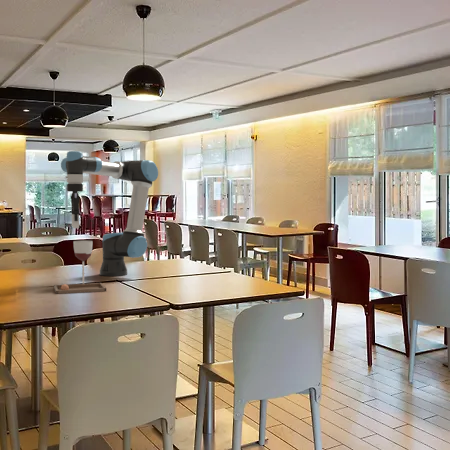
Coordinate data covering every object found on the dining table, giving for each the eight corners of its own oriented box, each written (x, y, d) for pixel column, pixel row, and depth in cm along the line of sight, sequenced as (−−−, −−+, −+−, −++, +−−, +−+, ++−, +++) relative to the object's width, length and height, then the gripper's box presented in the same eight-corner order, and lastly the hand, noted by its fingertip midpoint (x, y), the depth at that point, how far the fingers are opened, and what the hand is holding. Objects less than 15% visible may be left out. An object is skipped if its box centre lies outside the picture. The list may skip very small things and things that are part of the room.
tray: (101, 287, 276) (101, 282, 276) (106, 293, 261) (106, 288, 261) (54, 289, 269) (54, 285, 269) (56, 295, 254) (55, 290, 254)
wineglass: (96, 285, 282) (96, 240, 281) (85, 288, 273) (85, 242, 272) (81, 284, 285) (80, 240, 284) (70, 287, 276) (69, 241, 275)
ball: (68, 291, 261) (68, 283, 261) (69, 292, 258) (68, 284, 258) (60, 291, 260) (60, 283, 260) (60, 292, 257) (60, 285, 257)
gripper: (65, 183, 289) (66, 225, 290) (67, 182, 265) (68, 228, 266) (81, 183, 291) (81, 225, 292) (84, 183, 267) (84, 228, 268)
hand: (75, 227), depth 279 cm, fingers open, 13 cm apart
